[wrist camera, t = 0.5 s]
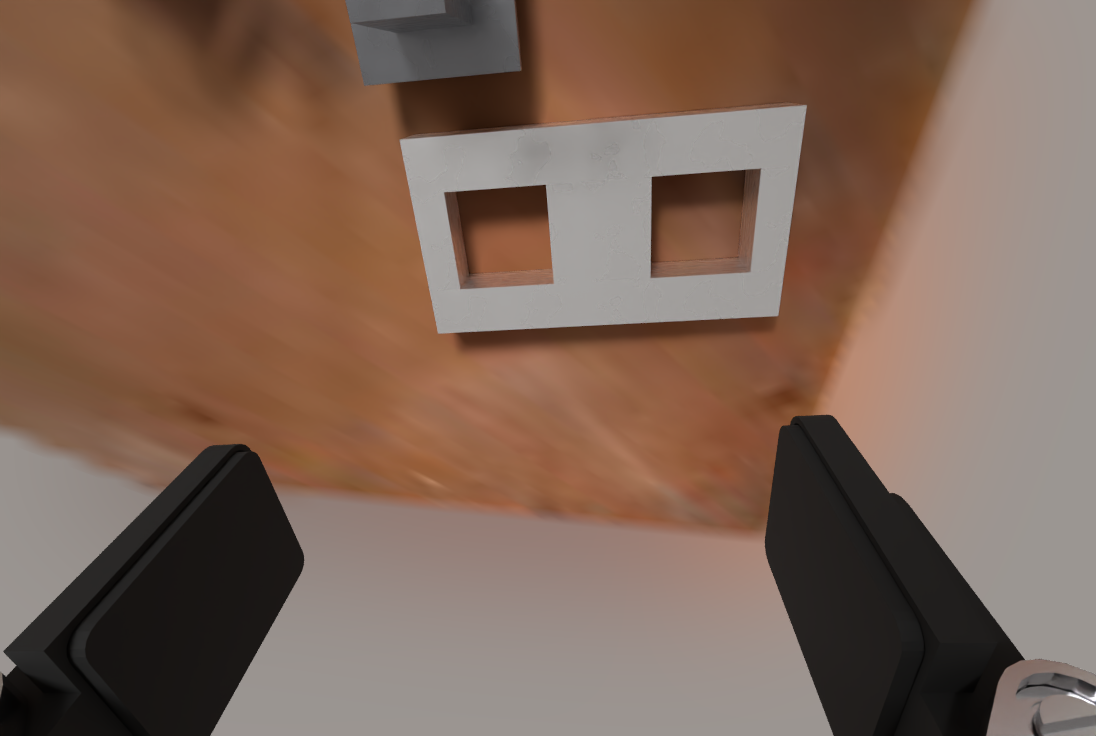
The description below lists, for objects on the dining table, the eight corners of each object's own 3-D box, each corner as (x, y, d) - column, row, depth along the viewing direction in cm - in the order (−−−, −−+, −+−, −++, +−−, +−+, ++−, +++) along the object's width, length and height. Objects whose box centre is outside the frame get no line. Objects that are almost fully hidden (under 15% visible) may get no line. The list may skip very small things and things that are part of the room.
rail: (414, 134, 32) (399, 139, 30) (787, 102, 30) (806, 105, 28) (448, 315, 38) (438, 333, 36) (764, 298, 36) (778, 315, 34)
